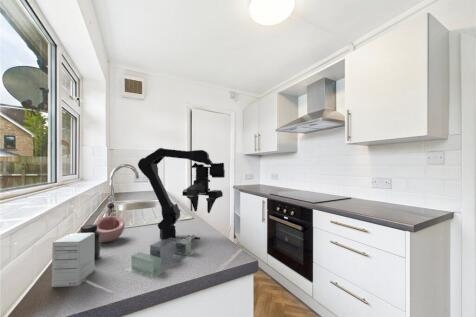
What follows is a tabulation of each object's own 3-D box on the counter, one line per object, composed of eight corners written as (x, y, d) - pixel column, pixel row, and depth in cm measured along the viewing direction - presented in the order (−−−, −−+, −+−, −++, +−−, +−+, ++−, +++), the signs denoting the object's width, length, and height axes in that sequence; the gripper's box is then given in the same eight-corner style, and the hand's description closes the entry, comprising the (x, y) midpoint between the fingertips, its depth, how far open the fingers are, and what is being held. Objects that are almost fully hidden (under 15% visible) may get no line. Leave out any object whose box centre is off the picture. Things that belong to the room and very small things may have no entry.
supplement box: (70, 273, 63) (71, 232, 63) (95, 272, 63) (95, 232, 64) (50, 287, 55) (51, 241, 56) (78, 286, 56) (79, 240, 56)
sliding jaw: (164, 250, 77) (164, 240, 77) (185, 240, 87) (185, 230, 88) (185, 255, 73) (185, 244, 73) (204, 244, 83) (204, 234, 83)
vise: (124, 272, 63) (124, 257, 63) (171, 248, 81) (171, 236, 81) (151, 281, 58) (151, 265, 58) (194, 254, 76) (194, 241, 76)
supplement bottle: (104, 256, 74) (105, 224, 74) (85, 265, 67) (85, 229, 68) (91, 254, 76) (92, 222, 76) (71, 262, 70) (72, 227, 70)
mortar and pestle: (94, 249, 81) (94, 220, 81) (91, 240, 90) (91, 215, 90) (127, 241, 89) (127, 215, 89) (121, 234, 98) (121, 210, 98)
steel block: (150, 263, 67) (150, 245, 68) (163, 255, 73) (163, 239, 73) (159, 266, 65) (159, 247, 66) (172, 258, 71) (173, 241, 71)
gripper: (173, 178, 88) (173, 213, 87) (209, 179, 80) (209, 218, 79) (190, 176, 98) (190, 208, 97) (223, 177, 90) (223, 212, 89)
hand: (202, 212), depth 90 cm, fingers open, 7 cm apart
